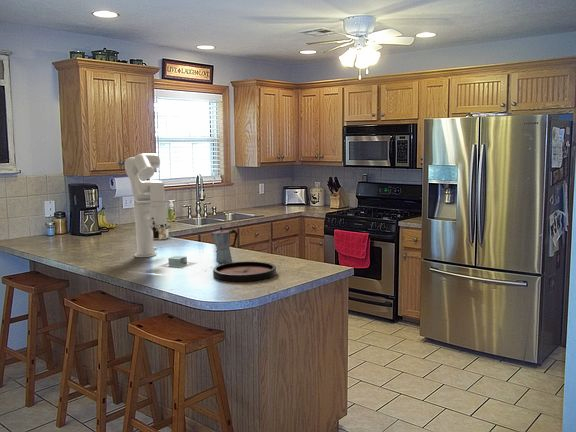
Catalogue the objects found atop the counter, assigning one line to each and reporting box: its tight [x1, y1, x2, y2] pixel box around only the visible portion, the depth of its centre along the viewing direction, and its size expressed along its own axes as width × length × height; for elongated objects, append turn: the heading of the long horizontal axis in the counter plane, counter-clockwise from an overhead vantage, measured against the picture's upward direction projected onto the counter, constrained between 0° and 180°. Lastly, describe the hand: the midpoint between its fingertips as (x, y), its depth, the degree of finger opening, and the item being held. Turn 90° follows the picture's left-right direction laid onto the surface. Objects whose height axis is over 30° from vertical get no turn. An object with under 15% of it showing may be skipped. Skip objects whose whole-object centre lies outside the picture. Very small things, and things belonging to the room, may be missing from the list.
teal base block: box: [168, 255, 188, 266], centre depth 302 cm, size 7×7×4 cm
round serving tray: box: [212, 260, 277, 284], centre depth 280 cm, size 31×4×31 cm
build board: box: [157, 261, 198, 269], centre depth 302 cm, size 15×16×1 cm
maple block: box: [153, 227, 167, 240], centre depth 305 cm, size 5×5×6 cm
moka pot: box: [209, 226, 239, 265], centre depth 309 cm, size 10×15×20 cm, turn 111°
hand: (159, 237), depth 305 cm, fingers closed on maple block, 5 cm apart
